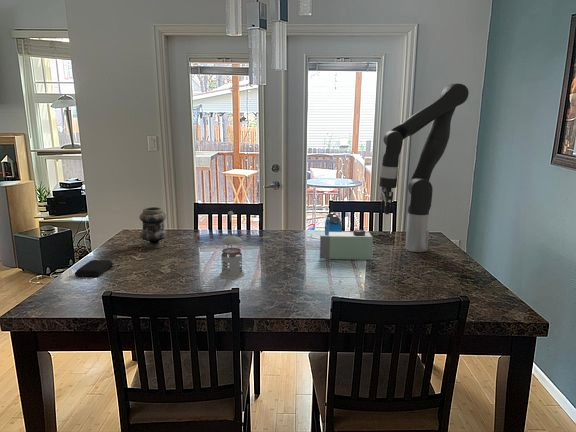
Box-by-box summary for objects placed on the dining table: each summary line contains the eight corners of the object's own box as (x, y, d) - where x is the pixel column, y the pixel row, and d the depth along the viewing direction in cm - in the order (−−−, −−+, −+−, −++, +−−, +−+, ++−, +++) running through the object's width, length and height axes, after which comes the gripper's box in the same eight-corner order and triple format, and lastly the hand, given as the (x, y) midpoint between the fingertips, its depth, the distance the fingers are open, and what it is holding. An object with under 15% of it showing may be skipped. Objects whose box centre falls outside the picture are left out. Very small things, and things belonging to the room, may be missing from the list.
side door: (371, 258, 182) (372, 236, 180) (371, 259, 181) (372, 236, 179) (319, 257, 182) (320, 235, 180) (319, 258, 182) (320, 236, 179)
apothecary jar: (173, 244, 202) (171, 207, 198) (152, 251, 192) (150, 212, 188) (155, 240, 208) (153, 204, 204) (135, 246, 198) (132, 209, 194)
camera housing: (368, 253, 190) (369, 229, 187) (371, 259, 182) (372, 233, 180) (327, 253, 191) (328, 228, 188) (329, 258, 183) (329, 233, 180)
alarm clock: (341, 248, 198) (342, 217, 195) (328, 248, 198) (329, 217, 194) (336, 240, 211) (337, 211, 207) (323, 240, 210) (324, 211, 207)
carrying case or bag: (101, 279, 159) (117, 266, 173) (100, 271, 158) (116, 258, 172) (73, 278, 159) (91, 265, 173) (72, 271, 158) (90, 258, 173)
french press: (224, 280, 157) (222, 214, 152) (214, 271, 167) (212, 208, 162) (248, 276, 162) (247, 212, 156) (237, 267, 172) (236, 206, 166)
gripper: (400, 179, 182) (396, 216, 186) (393, 175, 196) (390, 209, 200) (383, 178, 182) (379, 215, 186) (377, 174, 196) (374, 208, 200)
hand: (384, 212), depth 193 cm, fingers open, 8 cm apart
